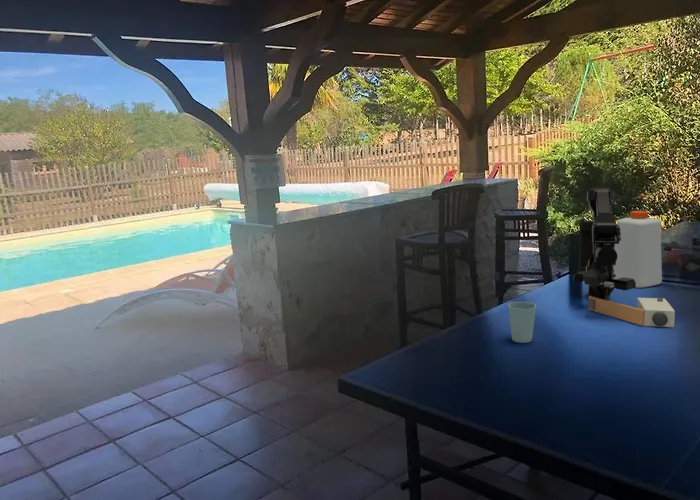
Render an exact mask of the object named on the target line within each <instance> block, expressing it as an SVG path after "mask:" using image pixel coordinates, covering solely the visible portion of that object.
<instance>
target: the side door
mask: <svg viewBox="0 0 700 500" xmlns="http://www.w3.org/2000/svg"><path fill="white" fill-rule="evenodd" d="M587 308H588V310H589V311H593V312H596V313H600V314H603V315H605V316H609V317H612V318H616V319H620V320H623V321H626V322H630V323H633V324H637V325H639V326H644V312H645V310H642V309H638V308H637V307H634V306H631V305H627V304H623V303H619V302H616V301H612V300H609V299H608V300H605V299H601V298H597V297H593V296H589V299H588V302H587Z"/></svg>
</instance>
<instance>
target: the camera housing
mask: <svg viewBox="0 0 700 500" xmlns="http://www.w3.org/2000/svg"><path fill="white" fill-rule="evenodd" d="M636 299H637V300H636V301H637V302H636V308H638V309H642V310H645V312H644V325H643V327H644V326H645V327H659V328H661V327H662V328H674V327H675V316H676V311H675V310H674V308H673V307H672V305H671V304H670V303H669V302H668V301H667V300H666V298H661V297H660V298H659V297H658V298H657V297H655V298H653V297H636Z"/></svg>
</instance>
